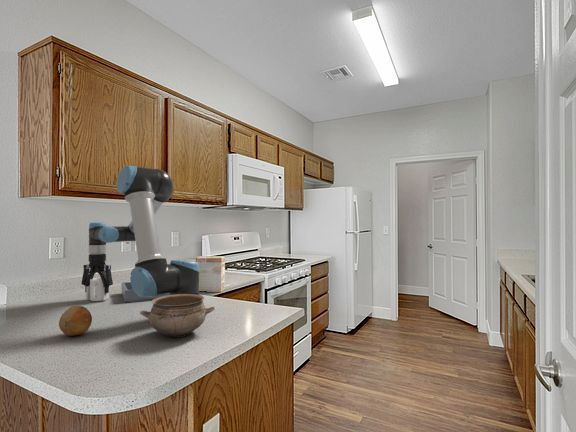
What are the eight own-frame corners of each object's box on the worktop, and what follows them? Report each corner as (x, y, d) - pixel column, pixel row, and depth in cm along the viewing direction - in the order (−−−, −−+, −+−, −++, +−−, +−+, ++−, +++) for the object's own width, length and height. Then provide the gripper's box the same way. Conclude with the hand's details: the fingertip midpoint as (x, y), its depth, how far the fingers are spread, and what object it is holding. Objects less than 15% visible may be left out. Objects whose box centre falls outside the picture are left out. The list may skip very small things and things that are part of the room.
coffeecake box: (224, 289, 196) (225, 256, 196) (221, 292, 189) (221, 257, 189) (199, 289, 197) (200, 255, 198) (195, 291, 190) (195, 257, 191)
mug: (101, 303, 162) (101, 281, 162) (83, 303, 161) (83, 281, 161) (111, 297, 174) (111, 277, 174) (94, 298, 173) (94, 277, 173)
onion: (53, 341, 111) (54, 310, 111) (64, 332, 121) (65, 303, 121) (86, 339, 114) (87, 309, 114) (95, 329, 123) (95, 302, 123)
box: (125, 303, 163) (125, 290, 163) (121, 293, 184) (121, 282, 184) (177, 297, 175) (177, 286, 175) (168, 289, 196) (168, 279, 196)
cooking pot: (214, 323, 131) (214, 292, 131) (215, 340, 113) (215, 303, 113) (144, 328, 125) (145, 295, 125) (134, 347, 107) (134, 308, 107)
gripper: (121, 253, 170) (121, 298, 169) (84, 252, 174) (84, 297, 173) (111, 254, 162) (110, 302, 162) (72, 253, 166) (72, 300, 166)
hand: (96, 299), depth 168 cm, fingers closed on mug, 8 cm apart
